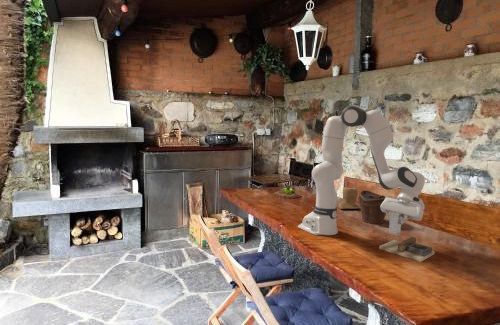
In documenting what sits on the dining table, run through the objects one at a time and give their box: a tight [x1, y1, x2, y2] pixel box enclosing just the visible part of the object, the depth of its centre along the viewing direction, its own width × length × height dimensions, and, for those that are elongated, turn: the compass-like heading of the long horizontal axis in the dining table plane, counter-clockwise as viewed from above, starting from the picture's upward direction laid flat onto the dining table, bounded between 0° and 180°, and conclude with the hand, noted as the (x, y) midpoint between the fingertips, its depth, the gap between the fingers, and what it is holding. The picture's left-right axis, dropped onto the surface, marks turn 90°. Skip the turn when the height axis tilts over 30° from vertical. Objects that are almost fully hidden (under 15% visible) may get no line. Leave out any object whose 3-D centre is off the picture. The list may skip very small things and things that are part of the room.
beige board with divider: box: [378, 236, 435, 263], centre depth 173 cm, size 20×15×6 cm
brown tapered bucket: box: [357, 190, 387, 225], centre depth 222 cm, size 18×20×18 cm
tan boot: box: [337, 187, 361, 210], centre depth 253 cm, size 15×12×15 cm
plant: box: [273, 181, 302, 200], centre depth 289 cm, size 20×20×11 cm
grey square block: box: [388, 211, 403, 235], centre depth 176 cm, size 4×4×10 cm
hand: (395, 222), depth 175 cm, fingers closed on grey square block, 4 cm apart
